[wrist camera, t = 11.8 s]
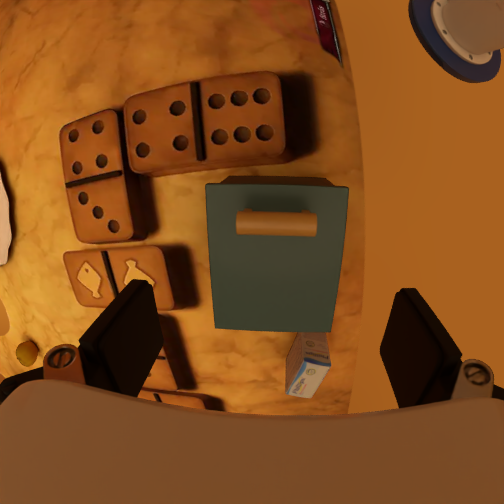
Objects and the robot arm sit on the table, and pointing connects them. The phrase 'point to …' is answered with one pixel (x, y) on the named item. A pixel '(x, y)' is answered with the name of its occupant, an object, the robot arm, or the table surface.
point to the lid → (275, 254)
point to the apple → (27, 353)
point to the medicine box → (307, 364)
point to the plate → (4, 224)
